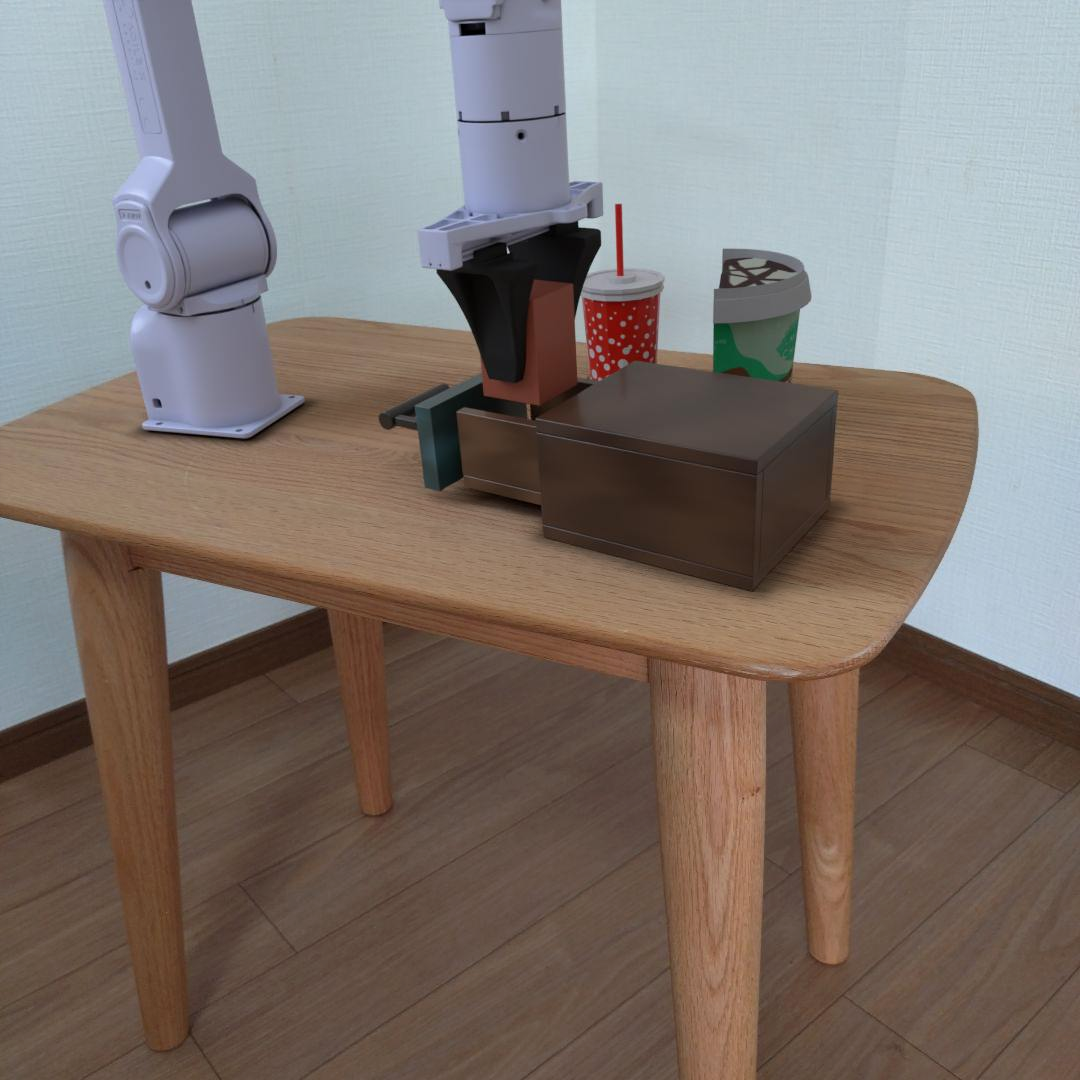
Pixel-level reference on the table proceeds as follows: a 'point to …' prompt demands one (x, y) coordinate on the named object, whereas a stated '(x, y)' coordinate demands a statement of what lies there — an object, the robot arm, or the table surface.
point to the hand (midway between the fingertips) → (528, 367)
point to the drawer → (476, 437)
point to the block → (543, 348)
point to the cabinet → (688, 469)
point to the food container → (758, 313)
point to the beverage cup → (621, 313)
